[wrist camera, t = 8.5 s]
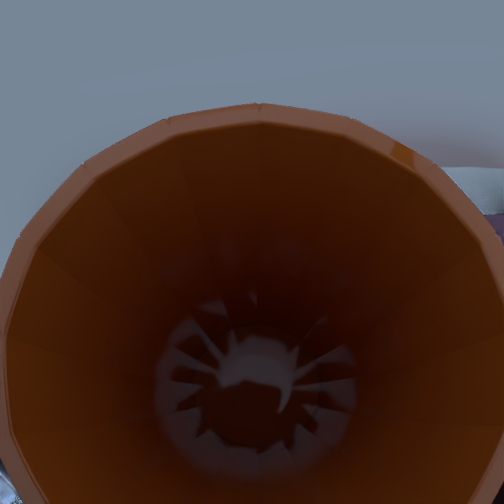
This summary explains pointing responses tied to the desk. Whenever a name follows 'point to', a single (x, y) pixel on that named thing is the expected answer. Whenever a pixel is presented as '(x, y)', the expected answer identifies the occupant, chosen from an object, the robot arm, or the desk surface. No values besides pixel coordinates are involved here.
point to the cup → (254, 322)
